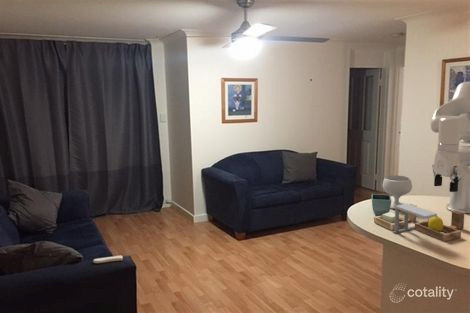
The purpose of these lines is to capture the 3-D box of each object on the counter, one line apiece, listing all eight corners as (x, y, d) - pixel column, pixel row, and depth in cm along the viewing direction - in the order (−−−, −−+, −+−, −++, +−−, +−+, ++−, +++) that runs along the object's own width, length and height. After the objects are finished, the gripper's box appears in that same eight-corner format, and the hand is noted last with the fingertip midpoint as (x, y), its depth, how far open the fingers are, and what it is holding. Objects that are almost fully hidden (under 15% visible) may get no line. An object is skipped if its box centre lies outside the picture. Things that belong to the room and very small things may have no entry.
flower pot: (391, 218, 180) (391, 200, 179) (371, 217, 183) (371, 199, 182) (390, 212, 189) (390, 194, 187) (371, 211, 191) (371, 193, 190)
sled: (403, 215, 182) (404, 201, 181) (422, 223, 172) (423, 208, 171) (374, 222, 176) (374, 207, 174) (391, 230, 166) (392, 215, 164)
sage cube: (389, 222, 176) (389, 212, 175) (398, 225, 171) (399, 214, 171) (382, 224, 173) (382, 214, 172) (391, 228, 169) (392, 217, 168)
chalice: (402, 201, 204) (403, 174, 201) (416, 209, 190) (418, 180, 188) (377, 203, 203) (377, 175, 200) (389, 211, 189) (390, 182, 187)
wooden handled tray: (444, 221, 172) (445, 207, 171) (476, 233, 159) (477, 217, 157) (414, 229, 166) (415, 213, 164) (444, 241, 152) (445, 224, 151)
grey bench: (430, 223, 171) (431, 198, 169) (461, 235, 158) (463, 207, 155) (392, 233, 163) (393, 206, 161) (421, 245, 150) (422, 216, 147)
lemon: (438, 231, 163) (439, 213, 161) (445, 236, 157) (446, 217, 156) (425, 231, 163) (426, 213, 161) (432, 236, 157) (433, 218, 156)
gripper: (426, 145, 163) (424, 184, 166) (453, 151, 146) (451, 194, 149) (442, 144, 164) (440, 183, 167) (472, 150, 147) (468, 193, 150)
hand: (445, 188), depth 158 cm, fingers open, 9 cm apart
